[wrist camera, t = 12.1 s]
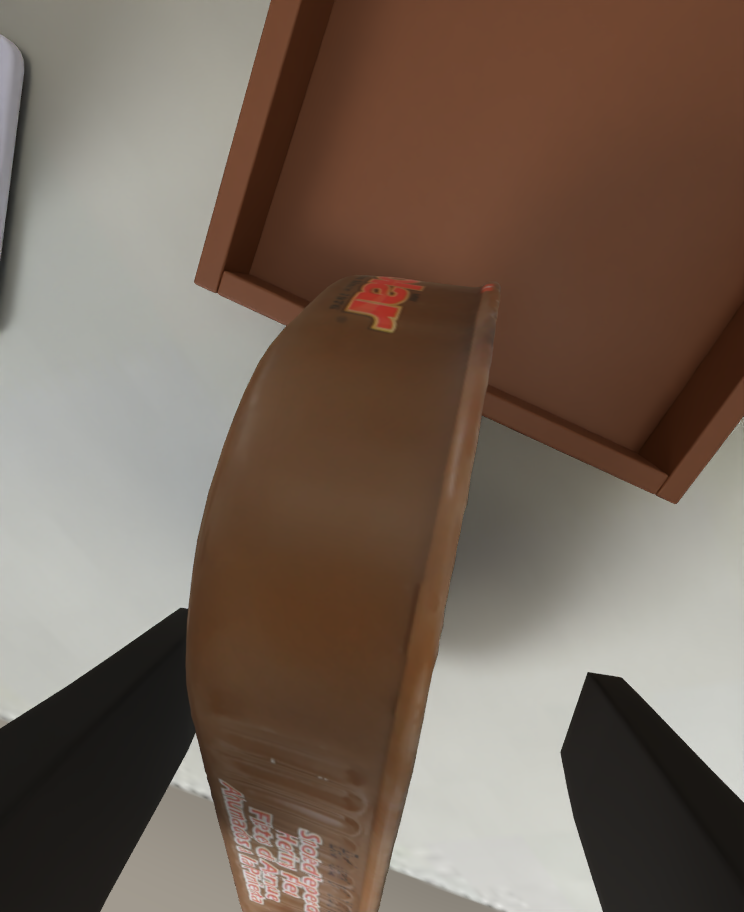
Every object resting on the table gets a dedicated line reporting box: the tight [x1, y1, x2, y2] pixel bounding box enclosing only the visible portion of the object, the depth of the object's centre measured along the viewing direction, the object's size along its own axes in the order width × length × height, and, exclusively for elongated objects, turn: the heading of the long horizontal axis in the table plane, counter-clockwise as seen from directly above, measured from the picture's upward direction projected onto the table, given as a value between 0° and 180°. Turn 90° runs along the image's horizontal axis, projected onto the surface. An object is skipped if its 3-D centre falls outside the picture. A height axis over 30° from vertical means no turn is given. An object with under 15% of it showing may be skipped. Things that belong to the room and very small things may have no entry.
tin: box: [186, 275, 501, 912], centre depth 10 cm, size 15×3×8 cm, turn 173°
